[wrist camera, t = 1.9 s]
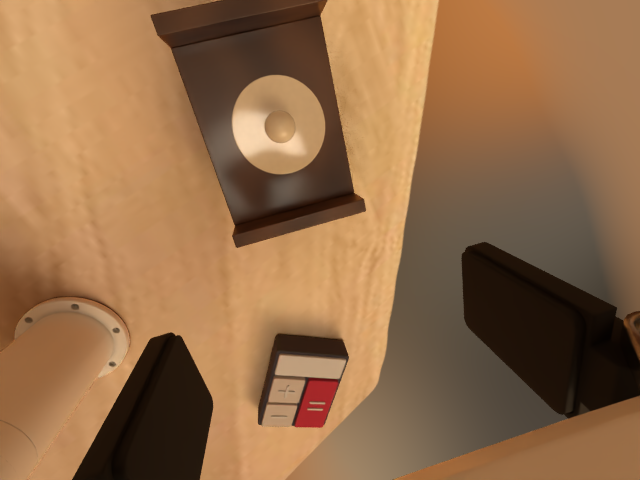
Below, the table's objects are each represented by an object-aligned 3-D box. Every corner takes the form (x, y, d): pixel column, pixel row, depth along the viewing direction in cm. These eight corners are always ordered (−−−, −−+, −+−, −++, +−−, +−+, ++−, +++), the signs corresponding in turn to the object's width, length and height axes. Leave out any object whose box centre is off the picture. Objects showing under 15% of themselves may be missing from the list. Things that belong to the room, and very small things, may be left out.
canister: (253, 168, 27) (248, 187, 17) (232, 103, 25) (214, 83, 15) (311, 153, 27) (338, 163, 18) (296, 87, 25) (317, 59, 16)
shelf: (244, 211, 38) (236, 248, 26) (192, 60, 31) (150, 14, 19) (334, 187, 39) (366, 211, 27) (301, 36, 33) (324, -22, 20)
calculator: (257, 430, 46) (277, 354, 41) (257, 405, 50) (276, 333, 45) (324, 431, 48) (351, 360, 43) (320, 407, 52) (344, 340, 47)
